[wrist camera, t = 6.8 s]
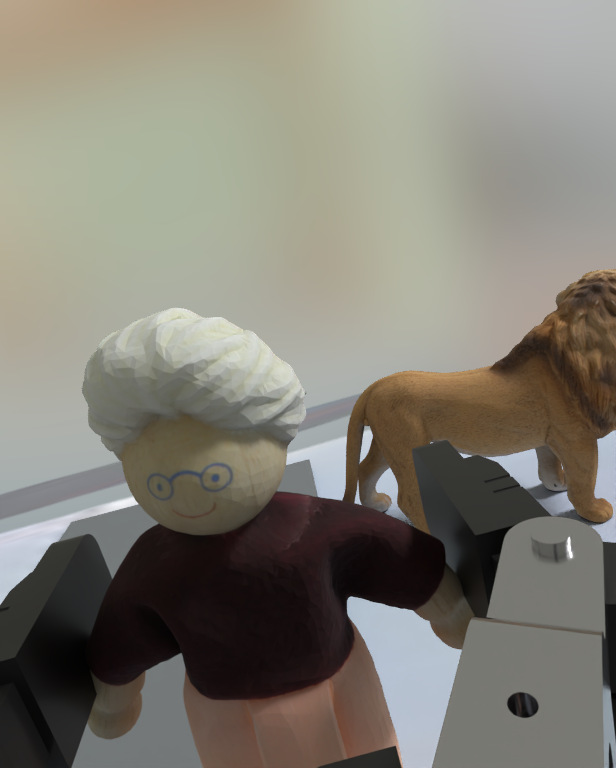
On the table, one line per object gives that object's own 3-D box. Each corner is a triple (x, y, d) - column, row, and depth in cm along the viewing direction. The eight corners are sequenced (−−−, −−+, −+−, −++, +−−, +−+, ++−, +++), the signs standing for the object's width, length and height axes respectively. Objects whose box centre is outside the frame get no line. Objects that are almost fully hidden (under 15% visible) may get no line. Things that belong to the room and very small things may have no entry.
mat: (311, 467, 32) (309, 459, 32) (373, 747, 15) (369, 733, 15) (74, 529, 32) (71, 522, 32) (-146, 888, 14) (-155, 876, 14)
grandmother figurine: (178, 1107, 9) (-193, 426, 6) (177, 868, 13) (-52, 359, 10) (574, 908, 11) (463, 241, 7) (472, 739, 14) (365, 245, 11)
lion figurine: (635, 446, 26) (619, 252, 23) (716, 503, 21) (707, 263, 18) (326, 513, 27) (278, 335, 24) (330, 583, 22) (270, 367, 19)
